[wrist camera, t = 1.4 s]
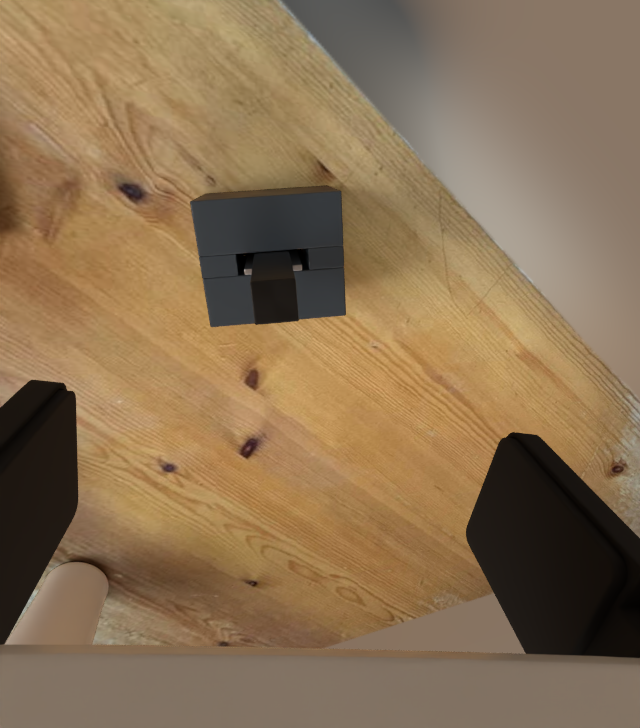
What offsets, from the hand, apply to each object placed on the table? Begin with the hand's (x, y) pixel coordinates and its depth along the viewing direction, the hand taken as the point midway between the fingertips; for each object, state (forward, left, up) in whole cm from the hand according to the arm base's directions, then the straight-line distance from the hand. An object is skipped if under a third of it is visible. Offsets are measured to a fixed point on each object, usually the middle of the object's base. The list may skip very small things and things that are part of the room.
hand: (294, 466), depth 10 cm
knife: (-1, 0, -24) cm, 24 cm away
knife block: (-1, 0, -24) cm, 24 cm away
